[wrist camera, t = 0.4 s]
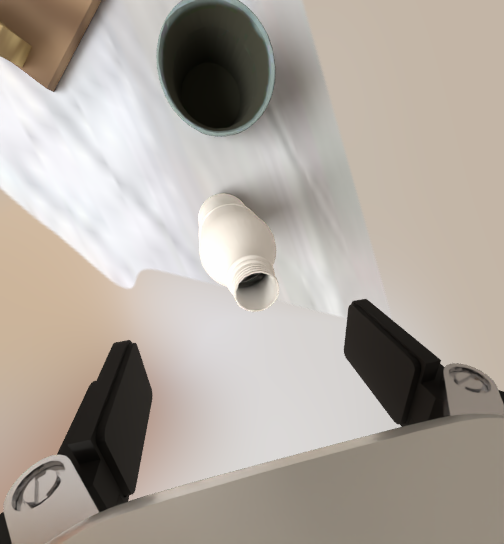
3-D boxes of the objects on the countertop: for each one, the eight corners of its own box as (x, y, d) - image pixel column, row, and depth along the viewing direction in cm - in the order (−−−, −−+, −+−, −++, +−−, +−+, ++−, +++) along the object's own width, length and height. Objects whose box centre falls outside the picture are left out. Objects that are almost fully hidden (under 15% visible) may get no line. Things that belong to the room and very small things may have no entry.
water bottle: (212, 181, 36) (238, 215, 14) (253, 207, 39) (330, 270, 17) (189, 224, 38) (179, 315, 16) (230, 246, 41) (271, 350, 18)
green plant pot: (264, 90, 33) (297, 57, 22) (224, 159, 36) (236, 159, 25) (195, 27, 29) (195, -49, 19) (155, 110, 32) (134, 84, 21)
